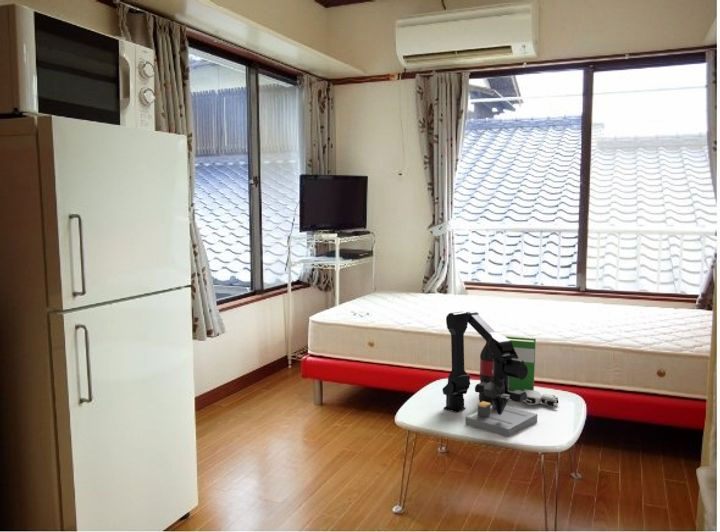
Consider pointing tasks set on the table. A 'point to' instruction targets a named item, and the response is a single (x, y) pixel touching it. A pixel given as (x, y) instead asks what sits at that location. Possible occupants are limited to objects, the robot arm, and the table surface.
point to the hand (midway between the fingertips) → (499, 414)
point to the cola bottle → (485, 371)
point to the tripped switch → (483, 409)
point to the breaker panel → (502, 421)
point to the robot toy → (540, 398)
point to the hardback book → (526, 353)
